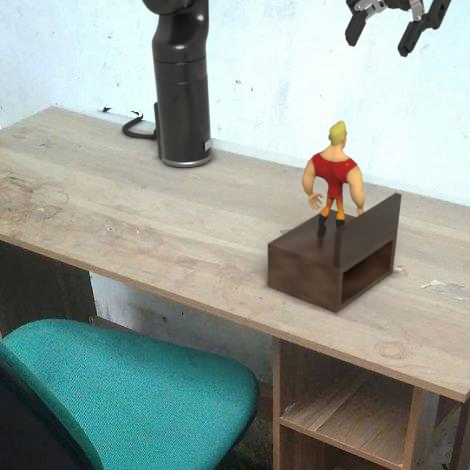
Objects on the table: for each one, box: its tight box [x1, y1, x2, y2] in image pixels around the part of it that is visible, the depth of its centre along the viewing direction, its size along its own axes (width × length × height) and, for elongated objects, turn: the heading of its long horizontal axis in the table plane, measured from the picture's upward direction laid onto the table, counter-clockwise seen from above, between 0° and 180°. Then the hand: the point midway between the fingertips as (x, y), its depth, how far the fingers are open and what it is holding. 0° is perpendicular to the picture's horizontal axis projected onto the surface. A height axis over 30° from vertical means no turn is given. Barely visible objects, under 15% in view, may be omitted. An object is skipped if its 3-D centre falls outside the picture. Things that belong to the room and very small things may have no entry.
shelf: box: [267, 192, 403, 314], centre depth 110 cm, size 12×14×12 cm
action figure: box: [301, 120, 366, 236], centre depth 104 cm, size 10×4×15 cm, turn 54°
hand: (375, 48), depth 109 cm, fingers open, 8 cm apart
